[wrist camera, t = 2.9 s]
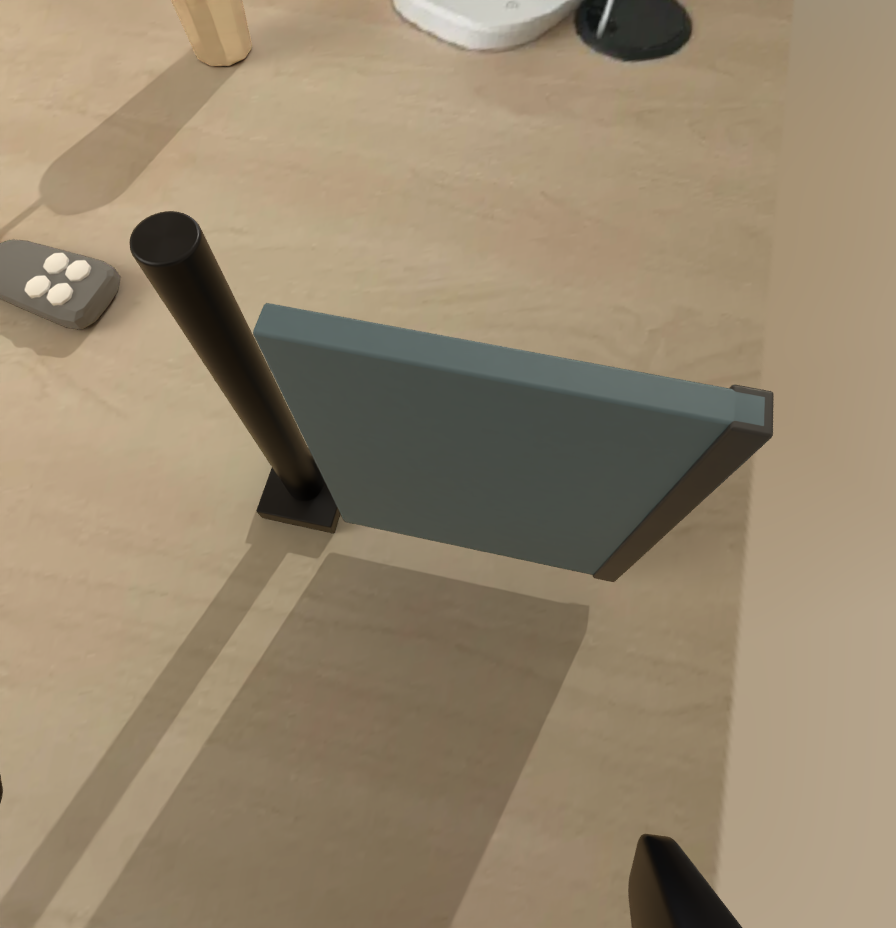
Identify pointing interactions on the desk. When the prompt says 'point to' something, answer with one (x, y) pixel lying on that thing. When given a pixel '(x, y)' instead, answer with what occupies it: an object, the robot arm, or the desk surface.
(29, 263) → the key chain
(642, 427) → the door
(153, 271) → the door post
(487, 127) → the desk surface
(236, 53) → the milkshake
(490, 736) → the desk surface
